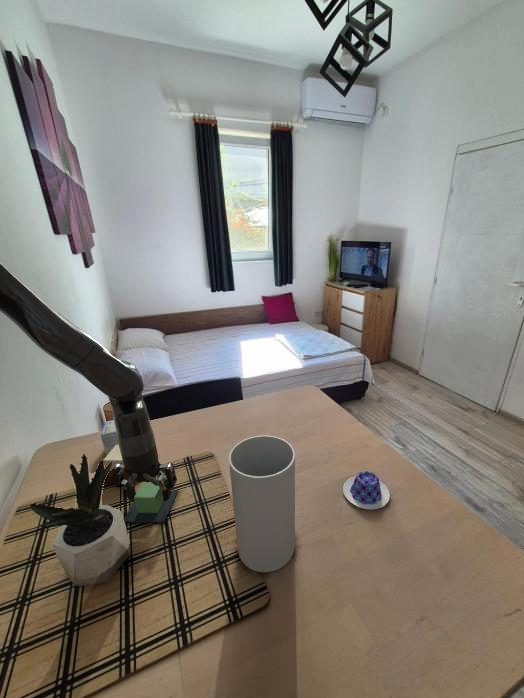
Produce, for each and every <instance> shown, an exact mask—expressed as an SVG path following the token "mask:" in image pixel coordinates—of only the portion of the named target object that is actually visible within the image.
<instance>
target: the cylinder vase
mask: <svg viewBox="0 0 524 698" xmlns="http://www.w3.org/2000/svg"><path fill="white" fill-rule="evenodd" d="M228 464H229V475H230V483H231V495H232V506H233V515H234V524H235V525H234V526H235V535H236V546H237V547H236V548H237V553H238V557H239V559H240V561H241V562H242V563H243V564H244V566H246V567H247V568H248V569H249V570H252V571H254V572H258V573H271V572H276V571H278V570H280V569H281V568H283V567H285V565H286V564H288V563H289V562H290V560H291V559H292V558H293V555H294V552H295V547H296V452H295V449H294V446H292V444H291V443H290V442H288V441H287V440H286V439H283V438H281V437H278V436H275V435H267V434H266V435H263V434H262V435H255V436H250V437H248V438H244V439H242V440H241V441H239V442H237V444H235V445H234V446H233V447H232V449H231V450H230V452H229V455H228Z"/></svg>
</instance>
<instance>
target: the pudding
mask: <svg viewBox="0 0 524 698" xmlns="http://www.w3.org/2000/svg"><path fill="white" fill-rule="evenodd" d="M342 493H343V495H344V496H345V498H346V500H347V501H348V502H349V503H351V504H352V505H354V506H355V507H358V508H360V509H364V510H378V509H380V508H383V507H385V506H386V505H387V504H388V502H389V501H390V499H391V498H390V497H391V495H390V494H391V493H390V490H389V488H388V487H387V485H386V484H385V483H384V482H382V481H381V480H380V479H379V477H378V476H377V475H376V474H375V473H374V472H371V471H370V472H369V471H368V470H364V471H359V472H358V473H357V474H356V475H355V476H351V477H349V478H348V479H346V481H344V483H343V486H342Z"/></svg>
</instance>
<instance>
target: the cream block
mask: <svg viewBox="0 0 524 698" xmlns="http://www.w3.org/2000/svg"><path fill="white" fill-rule="evenodd" d="M102 461H103V465H104V468H106V467H107V466H108V465H109V464H110V463H111V462H112V466H111V469H110V471H112V469H113V468H114V466H115V465H116V464H117V462H121V463H122V465H124V464H123V460H122V456H121V452H120V448H119V445H115V447H114V448H113V449H112V450H111V451H110V453H109V454H108V455H106V456H105V457H104V458H103V460H102Z"/></svg>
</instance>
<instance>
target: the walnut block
mask: <svg viewBox="0 0 524 698" xmlns="http://www.w3.org/2000/svg"><path fill="white" fill-rule="evenodd" d="M124 477H125V480H128V479H129V478H130V476H129V475H128V474H127V473H126V472H125V471H124ZM132 484H134V486H136V485H137V484H138V482H137V481H135V480H134V482H133V483H132ZM103 485H111V486H112V485H114V486H115V483H114V478H113V473H112V471H109V473H108V475H107V477H106V479H105V482H104V483H103Z"/></svg>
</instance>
